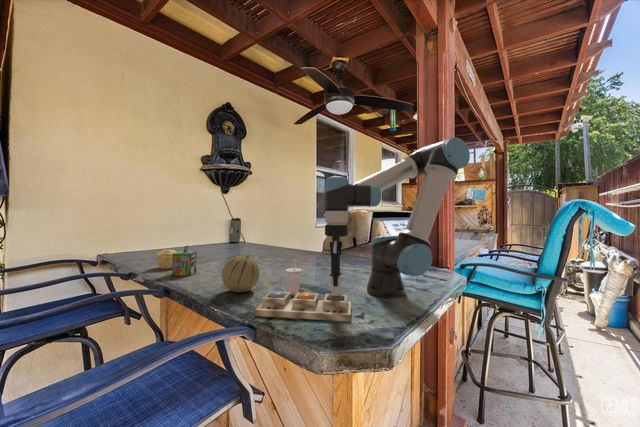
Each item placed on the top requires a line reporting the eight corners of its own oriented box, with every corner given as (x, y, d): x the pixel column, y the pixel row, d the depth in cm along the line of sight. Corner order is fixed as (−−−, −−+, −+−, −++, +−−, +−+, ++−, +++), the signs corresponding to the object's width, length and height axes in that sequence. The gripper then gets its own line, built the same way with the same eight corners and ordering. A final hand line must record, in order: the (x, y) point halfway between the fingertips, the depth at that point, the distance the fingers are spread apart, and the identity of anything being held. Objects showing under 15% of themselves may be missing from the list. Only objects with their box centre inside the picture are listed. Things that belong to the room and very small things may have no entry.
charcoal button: (343, 301, 91) (343, 293, 91) (342, 306, 86) (342, 298, 86) (328, 300, 92) (328, 293, 92) (327, 305, 87) (327, 297, 87)
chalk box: (179, 272, 144) (179, 244, 143) (196, 272, 145) (197, 244, 144) (171, 276, 134) (171, 247, 134) (190, 276, 135) (190, 246, 135)
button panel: (350, 307, 93) (351, 294, 93) (350, 321, 81) (350, 306, 81) (266, 303, 97) (267, 290, 97) (254, 315, 85) (254, 301, 85)
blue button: (286, 298, 94) (286, 291, 94) (282, 303, 89) (282, 295, 89) (272, 297, 94) (272, 290, 94) (267, 302, 90) (267, 294, 90)
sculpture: (154, 271, 146) (154, 251, 146) (159, 266, 157) (159, 248, 157) (177, 269, 150) (177, 250, 150) (181, 265, 161) (181, 247, 161)
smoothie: (298, 296, 104) (299, 260, 104) (283, 295, 105) (283, 260, 105) (303, 292, 110) (303, 257, 110) (288, 291, 112) (288, 257, 112)
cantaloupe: (216, 290, 112) (217, 254, 112) (250, 284, 121) (250, 251, 121) (229, 299, 100) (229, 259, 100) (265, 292, 109) (265, 255, 109)
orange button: (314, 299, 93) (314, 292, 93) (312, 304, 88) (312, 297, 88) (300, 299, 93) (300, 291, 93) (297, 303, 88) (297, 296, 88)
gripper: (326, 223, 96) (326, 289, 96) (322, 224, 83) (322, 301, 83) (348, 223, 95) (347, 290, 95) (347, 225, 82) (346, 302, 82)
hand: (335, 295), depth 89 cm, fingers closed
